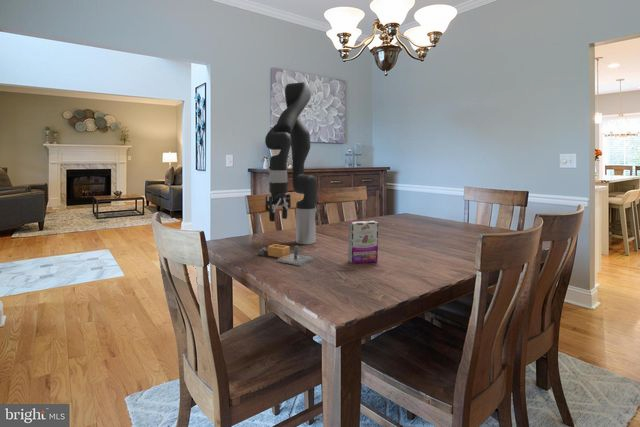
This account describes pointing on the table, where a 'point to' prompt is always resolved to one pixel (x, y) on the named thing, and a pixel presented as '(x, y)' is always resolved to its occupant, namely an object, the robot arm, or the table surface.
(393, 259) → the table surface
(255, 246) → the table surface
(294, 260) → the plate
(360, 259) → the candy bar box
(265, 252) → the grey knob block
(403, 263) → the table surface
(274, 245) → the orange link
